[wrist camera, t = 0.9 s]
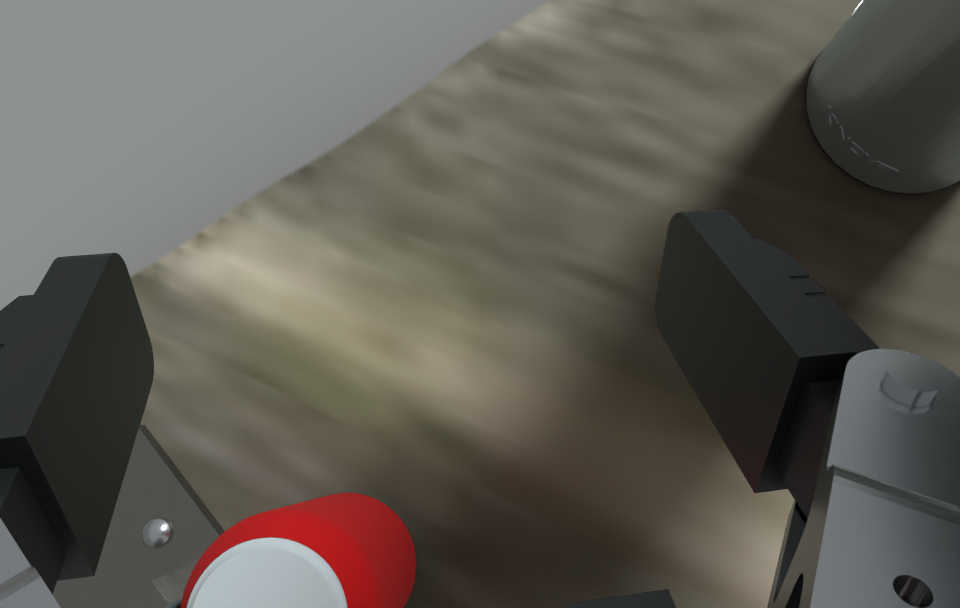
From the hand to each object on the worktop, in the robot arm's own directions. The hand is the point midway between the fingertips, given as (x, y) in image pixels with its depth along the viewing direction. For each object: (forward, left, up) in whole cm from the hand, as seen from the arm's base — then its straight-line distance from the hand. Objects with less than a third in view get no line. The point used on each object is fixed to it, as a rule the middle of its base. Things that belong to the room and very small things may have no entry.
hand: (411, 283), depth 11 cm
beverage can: (+9, +2, -24) cm, 25 cm away
